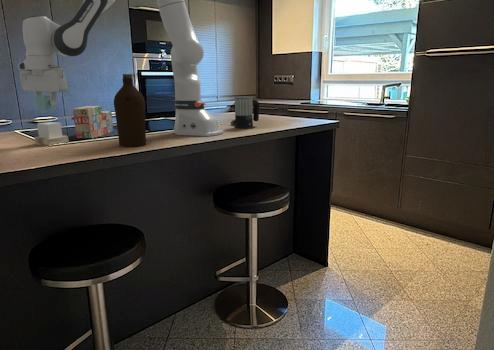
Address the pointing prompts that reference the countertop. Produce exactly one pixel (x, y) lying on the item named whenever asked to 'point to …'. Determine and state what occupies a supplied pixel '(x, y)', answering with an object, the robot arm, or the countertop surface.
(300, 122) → the countertop surface
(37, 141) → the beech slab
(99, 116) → the stack of blocks
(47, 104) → the teal block
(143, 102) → the olive oil
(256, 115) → the milk frother
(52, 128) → the white block
